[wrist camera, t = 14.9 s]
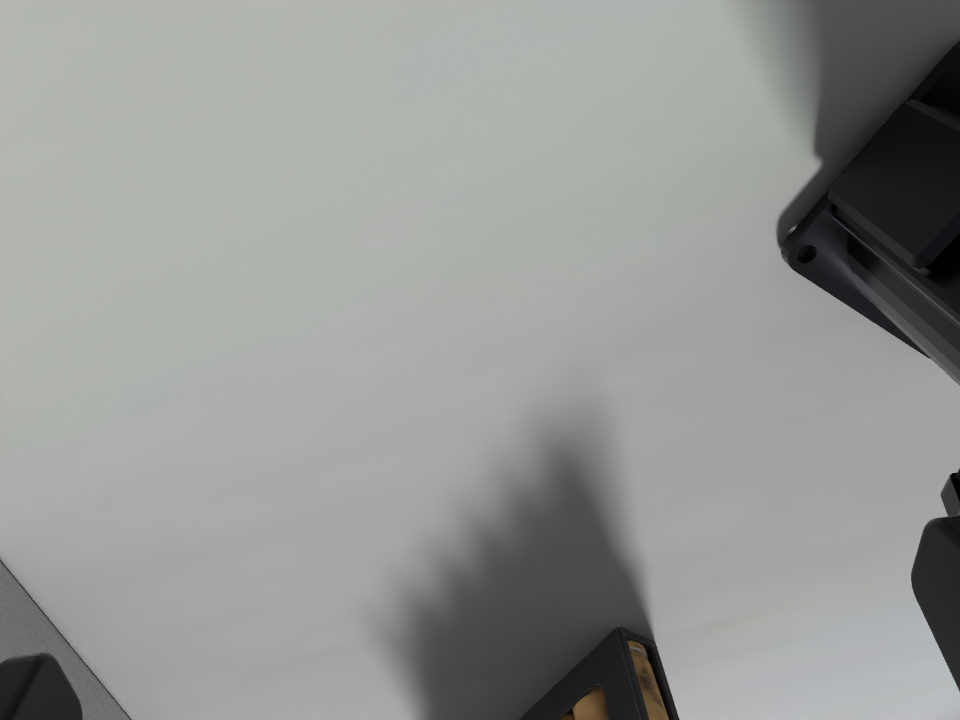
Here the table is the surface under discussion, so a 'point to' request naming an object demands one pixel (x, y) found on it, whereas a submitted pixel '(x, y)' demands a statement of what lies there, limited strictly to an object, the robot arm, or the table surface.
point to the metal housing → (48, 648)
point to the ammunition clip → (611, 685)
